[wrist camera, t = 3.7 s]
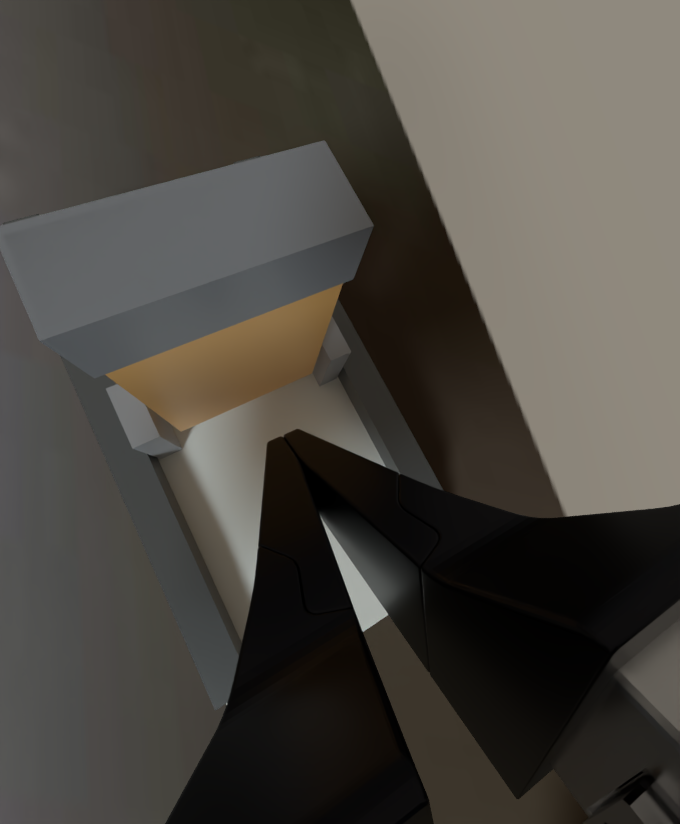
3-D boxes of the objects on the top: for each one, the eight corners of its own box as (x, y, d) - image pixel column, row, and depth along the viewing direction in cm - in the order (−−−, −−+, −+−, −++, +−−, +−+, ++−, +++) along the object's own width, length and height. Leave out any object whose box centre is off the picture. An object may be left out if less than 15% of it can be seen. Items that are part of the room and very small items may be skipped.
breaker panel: (435, 550, 18) (515, 575, 12) (240, 677, 15) (221, 787, 9) (253, 209, 20) (247, 94, 14) (56, 269, 17) (-49, 156, 12)
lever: (316, 375, 14) (373, 225, 6) (180, 436, 13) (39, 341, 5) (294, 334, 14) (324, 140, 6) (158, 390, 13) (-10, 228, 5)
